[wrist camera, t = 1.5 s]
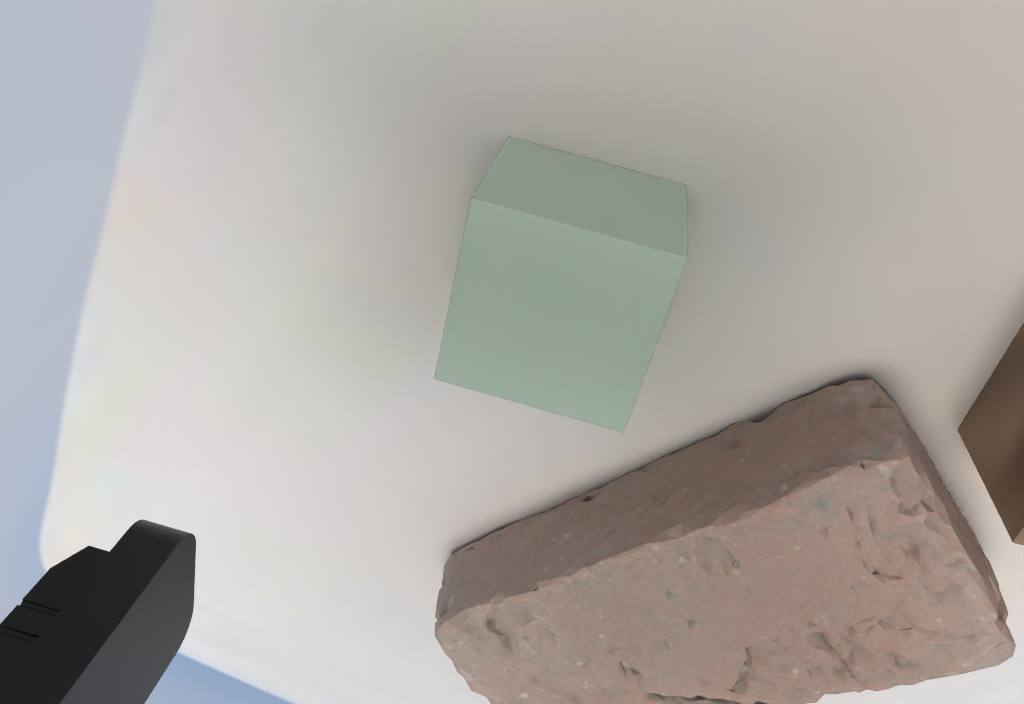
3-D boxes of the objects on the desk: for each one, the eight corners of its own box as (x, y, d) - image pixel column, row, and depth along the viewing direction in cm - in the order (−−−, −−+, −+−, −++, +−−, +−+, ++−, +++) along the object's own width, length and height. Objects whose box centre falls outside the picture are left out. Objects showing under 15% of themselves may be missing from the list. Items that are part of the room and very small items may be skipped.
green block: (509, 135, 23) (471, 197, 19) (686, 184, 23) (687, 257, 19) (473, 292, 26) (434, 378, 22) (632, 337, 26) (624, 432, 22)
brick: (562, 686, 34) (548, 796, 30) (438, 544, 32) (405, 644, 28) (985, 545, 28) (1038, 662, 24) (875, 351, 25) (915, 445, 21)
